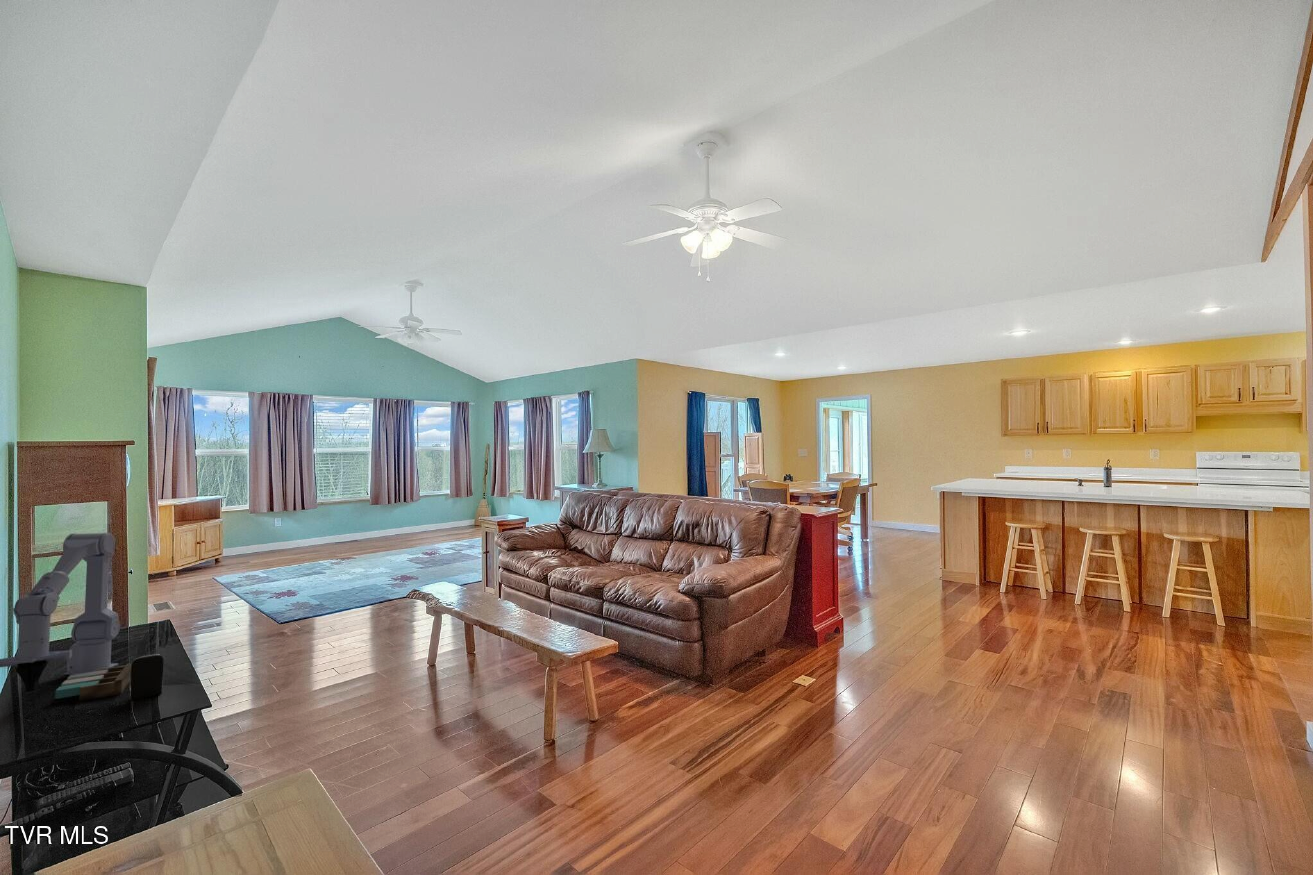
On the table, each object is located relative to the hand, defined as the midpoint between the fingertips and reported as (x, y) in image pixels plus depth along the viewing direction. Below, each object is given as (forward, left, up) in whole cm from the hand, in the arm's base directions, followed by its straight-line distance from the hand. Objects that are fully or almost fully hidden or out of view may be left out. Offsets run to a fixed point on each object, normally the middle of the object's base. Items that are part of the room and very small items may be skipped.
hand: (31, 690), depth 151 cm
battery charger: (+26, +5, -4) cm, 26 cm away
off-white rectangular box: (+5, +9, -3) cm, 11 cm away
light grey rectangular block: (+3, +13, -3) cm, 14 cm away
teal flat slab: (+8, +5, -3) cm, 9 cm away
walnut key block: (+10, +11, -4) cm, 15 cm away
